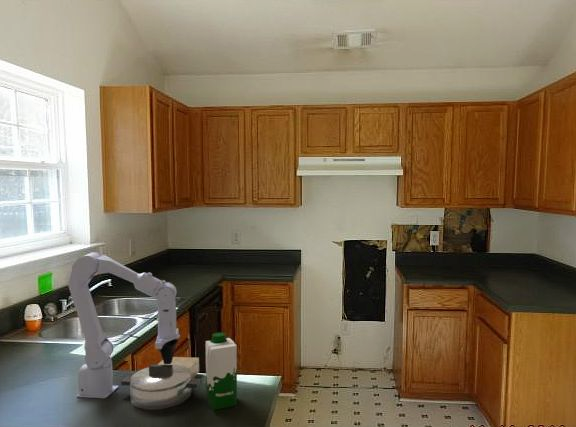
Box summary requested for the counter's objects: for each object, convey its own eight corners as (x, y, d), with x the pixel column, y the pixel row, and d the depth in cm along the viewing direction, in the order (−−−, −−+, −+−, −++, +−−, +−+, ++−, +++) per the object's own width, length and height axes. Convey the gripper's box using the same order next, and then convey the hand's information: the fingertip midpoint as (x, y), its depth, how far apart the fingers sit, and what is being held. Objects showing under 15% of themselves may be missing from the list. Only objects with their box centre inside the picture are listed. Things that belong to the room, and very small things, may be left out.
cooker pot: (109, 407, 124) (109, 390, 124) (150, 369, 152) (149, 356, 152) (189, 411, 122) (188, 394, 122) (215, 372, 149) (215, 358, 149)
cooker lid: (119, 390, 124) (119, 376, 124) (146, 366, 142) (146, 354, 141) (178, 392, 122) (177, 378, 122) (197, 368, 140) (197, 356, 139)
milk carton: (231, 393, 133) (230, 330, 132) (240, 406, 124) (239, 338, 124) (203, 399, 129) (202, 334, 129) (210, 412, 121) (209, 343, 120)
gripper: (170, 328, 129) (171, 373, 130) (187, 315, 144) (187, 355, 144) (148, 328, 130) (148, 372, 130) (166, 315, 144) (167, 354, 145)
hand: (167, 363), depth 137 cm, fingers closed
